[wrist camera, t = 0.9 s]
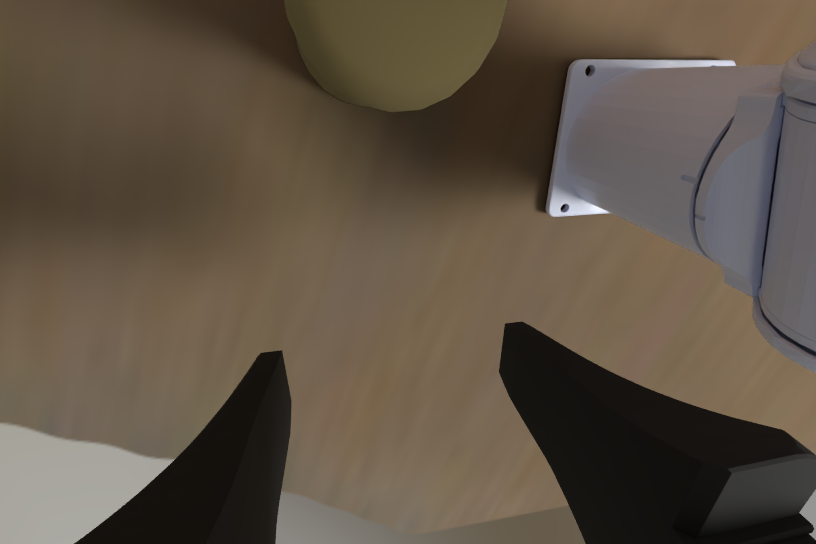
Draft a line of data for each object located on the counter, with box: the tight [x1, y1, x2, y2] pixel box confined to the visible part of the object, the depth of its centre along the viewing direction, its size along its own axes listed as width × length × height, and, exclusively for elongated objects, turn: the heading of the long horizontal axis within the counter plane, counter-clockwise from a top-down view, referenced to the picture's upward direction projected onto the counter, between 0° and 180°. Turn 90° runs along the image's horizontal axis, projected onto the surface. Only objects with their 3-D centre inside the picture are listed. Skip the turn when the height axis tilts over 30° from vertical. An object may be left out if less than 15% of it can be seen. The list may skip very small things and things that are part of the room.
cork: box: [284, 0, 508, 112], centre depth 12 cm, size 6×6×11 cm
